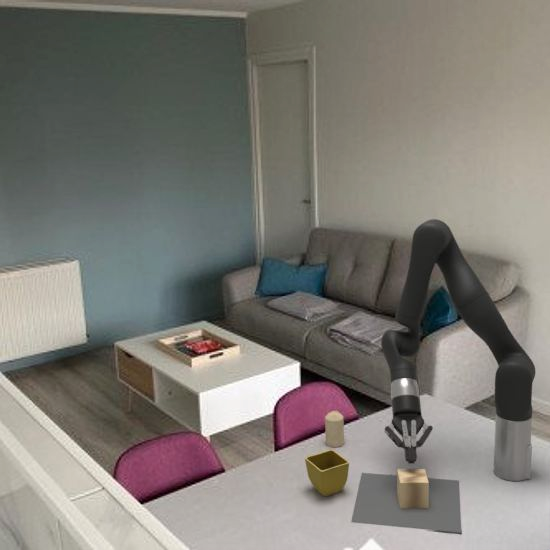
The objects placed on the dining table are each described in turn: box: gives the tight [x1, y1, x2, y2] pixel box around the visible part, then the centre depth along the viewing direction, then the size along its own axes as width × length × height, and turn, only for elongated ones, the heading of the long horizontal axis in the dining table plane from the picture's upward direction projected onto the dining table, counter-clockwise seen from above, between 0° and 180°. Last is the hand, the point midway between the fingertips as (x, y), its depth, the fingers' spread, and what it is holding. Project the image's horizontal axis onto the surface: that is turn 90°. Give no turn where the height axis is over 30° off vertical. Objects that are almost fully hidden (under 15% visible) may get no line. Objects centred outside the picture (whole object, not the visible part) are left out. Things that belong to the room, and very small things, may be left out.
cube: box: [396, 468, 429, 508], centre depth 176 cm, size 7×7×7 cm
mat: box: [350, 472, 462, 535], centre depth 177 cm, size 26×24×1 cm
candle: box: [324, 410, 345, 448], centre depth 209 cm, size 6×6×10 cm
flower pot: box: [304, 449, 350, 497], centre depth 183 cm, size 9×9×9 cm
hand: (411, 462), depth 177 cm, fingers closed
